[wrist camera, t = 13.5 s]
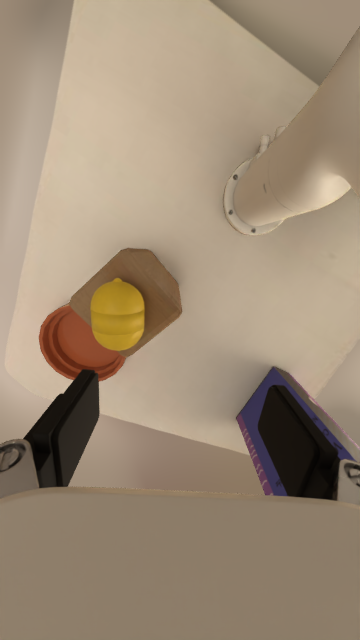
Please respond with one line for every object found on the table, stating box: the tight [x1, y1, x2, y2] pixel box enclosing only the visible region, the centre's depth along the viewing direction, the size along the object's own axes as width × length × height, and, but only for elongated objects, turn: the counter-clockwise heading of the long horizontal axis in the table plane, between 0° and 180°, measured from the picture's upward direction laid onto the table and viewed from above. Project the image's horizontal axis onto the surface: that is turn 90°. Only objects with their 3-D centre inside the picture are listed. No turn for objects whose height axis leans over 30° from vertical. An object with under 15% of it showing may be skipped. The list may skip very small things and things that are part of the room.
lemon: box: [90, 278, 145, 351], centre depth 21 cm, size 8×5×5 cm
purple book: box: [236, 366, 360, 496], centre depth 41 cm, size 17×5×24 cm, turn 154°
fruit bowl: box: [39, 303, 126, 381], centre depth 44 cm, size 17×17×4 cm
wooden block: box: [69, 248, 182, 357], centre depth 33 cm, size 10×10×20 cm
